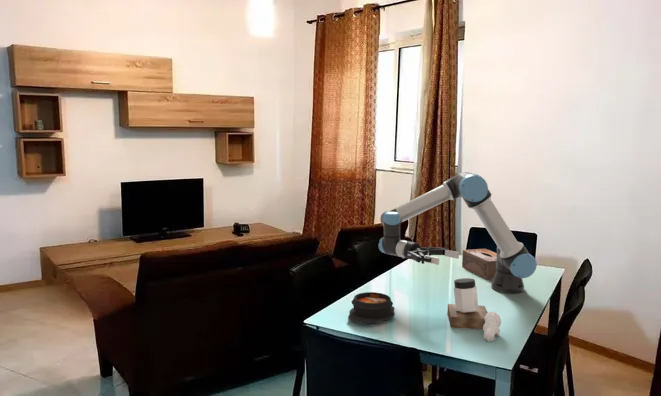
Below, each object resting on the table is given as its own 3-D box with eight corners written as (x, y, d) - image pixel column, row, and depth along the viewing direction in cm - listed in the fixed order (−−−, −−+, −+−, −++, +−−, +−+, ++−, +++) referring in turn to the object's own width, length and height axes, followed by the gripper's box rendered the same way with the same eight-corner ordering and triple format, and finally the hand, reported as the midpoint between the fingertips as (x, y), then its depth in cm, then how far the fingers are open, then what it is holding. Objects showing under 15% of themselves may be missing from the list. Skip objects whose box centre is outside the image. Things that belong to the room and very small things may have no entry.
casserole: (365, 304, 226) (365, 286, 225) (404, 312, 216) (405, 293, 215) (337, 322, 204) (337, 302, 203) (379, 332, 195) (379, 310, 194)
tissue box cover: (462, 267, 289) (462, 250, 288) (484, 265, 293) (485, 248, 291) (487, 280, 264) (488, 261, 263) (511, 278, 268) (512, 259, 267)
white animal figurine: (502, 311, 193) (498, 324, 182) (501, 331, 195) (497, 346, 184) (485, 308, 196) (480, 322, 185) (484, 329, 198) (479, 343, 187)
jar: (473, 313, 199) (470, 283, 199) (453, 312, 204) (450, 282, 203) (480, 307, 206) (478, 278, 206) (461, 306, 211) (458, 277, 211)
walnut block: (484, 317, 212) (484, 305, 212) (490, 331, 198) (490, 319, 197) (447, 315, 214) (447, 303, 214) (450, 329, 200) (451, 316, 199)
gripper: (426, 253, 234) (465, 261, 218) (389, 263, 218) (429, 273, 202) (426, 237, 233) (466, 244, 217) (389, 246, 217) (429, 254, 201)
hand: (448, 258), depth 210 cm, fingers open, 13 cm apart
